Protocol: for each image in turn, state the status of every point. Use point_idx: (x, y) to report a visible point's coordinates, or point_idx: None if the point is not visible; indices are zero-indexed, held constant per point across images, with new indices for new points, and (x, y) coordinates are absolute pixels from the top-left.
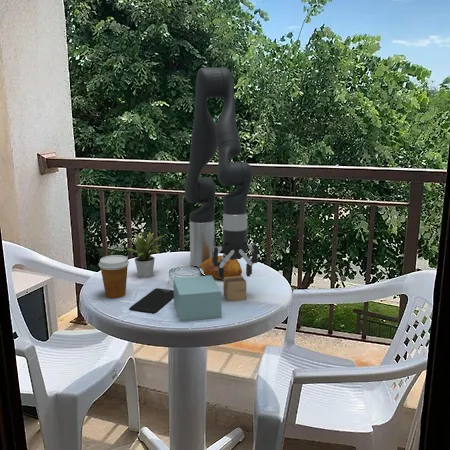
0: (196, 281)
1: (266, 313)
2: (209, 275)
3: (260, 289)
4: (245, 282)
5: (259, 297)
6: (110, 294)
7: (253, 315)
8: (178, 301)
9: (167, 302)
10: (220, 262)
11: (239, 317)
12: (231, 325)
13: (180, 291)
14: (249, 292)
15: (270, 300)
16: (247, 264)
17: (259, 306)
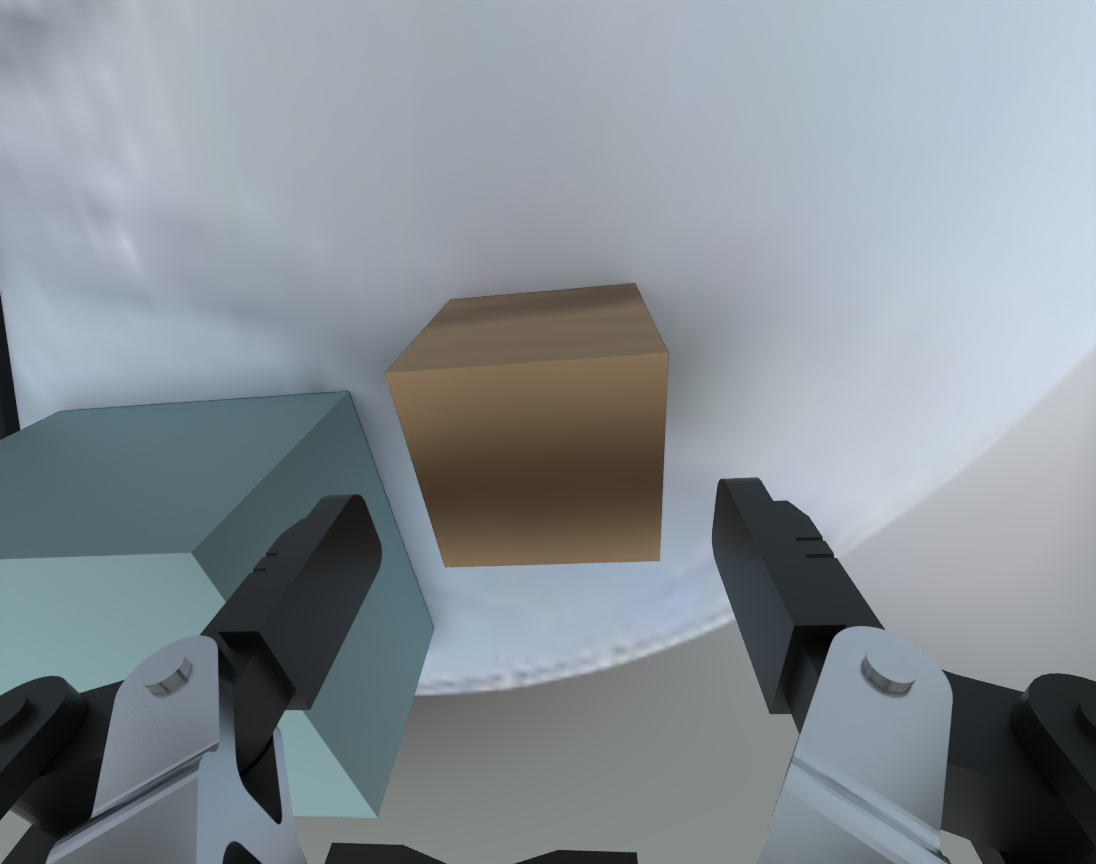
0: (88, 672)
1: (695, 627)
2: (164, 555)
3: (883, 205)
4: (647, 559)
5: (763, 413)
6: None
7: (613, 634)
8: None
9: (9, 421)
10: (171, 735)
11: (532, 640)
12: (482, 689)
13: None
14: (721, 281)
15: (821, 479)
16: (798, 661)
17: (692, 551)
